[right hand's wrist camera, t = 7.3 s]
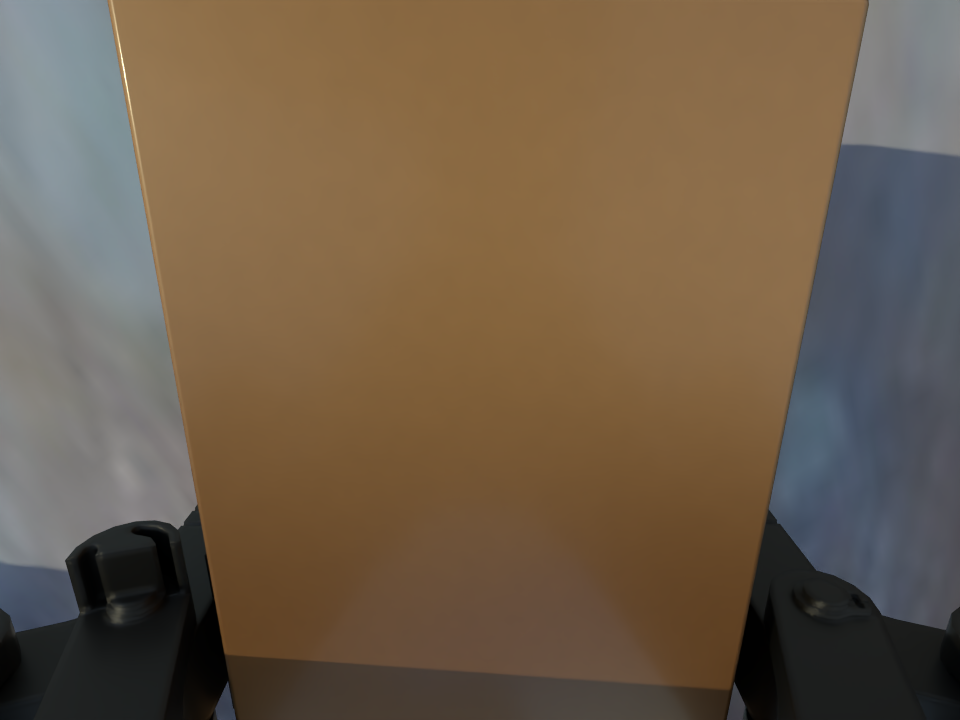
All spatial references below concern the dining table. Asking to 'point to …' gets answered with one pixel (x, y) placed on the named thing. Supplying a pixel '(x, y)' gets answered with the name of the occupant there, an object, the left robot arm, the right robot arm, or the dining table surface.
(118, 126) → the dining table surface
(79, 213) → the dining table surface
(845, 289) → the dining table surface
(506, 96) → the post
